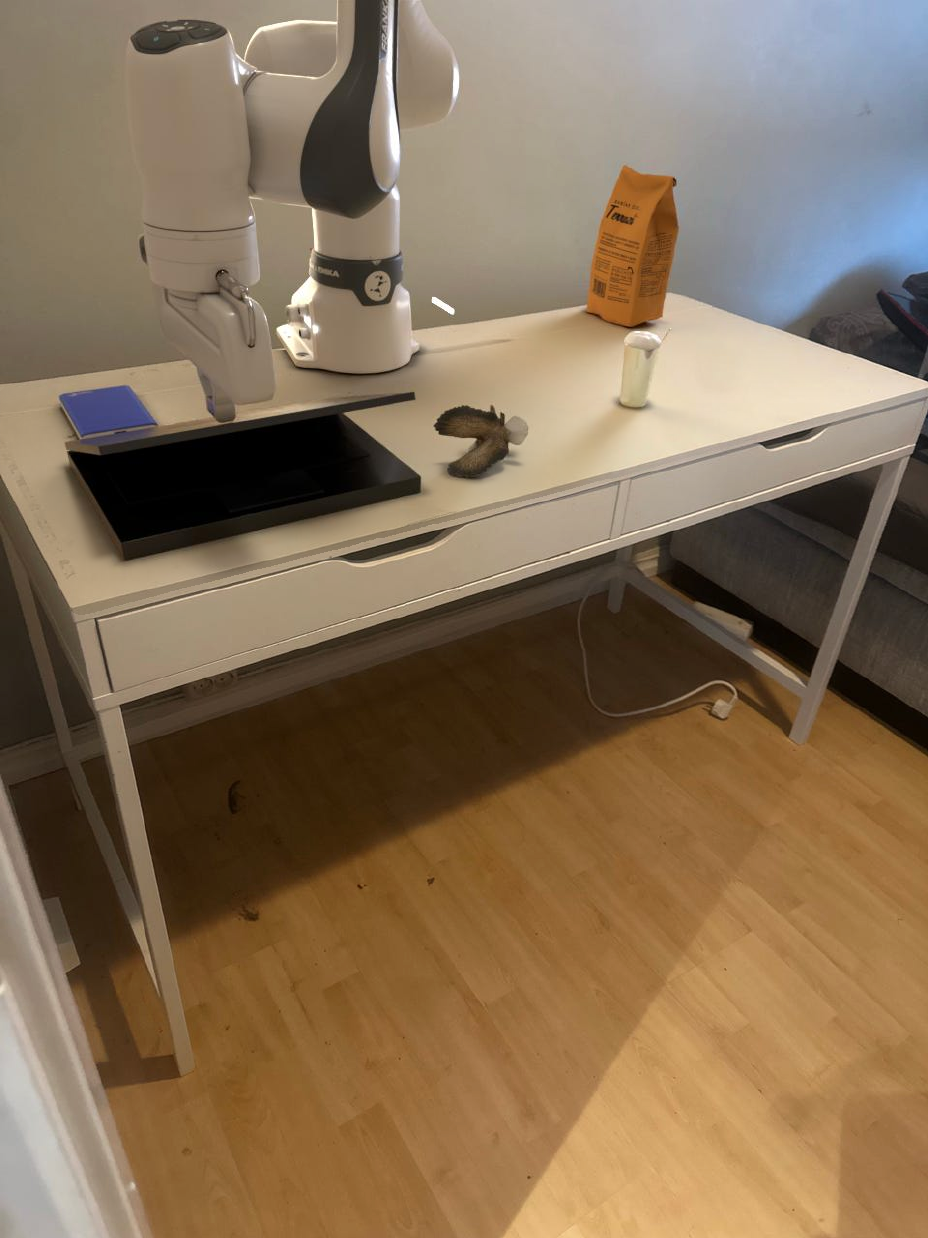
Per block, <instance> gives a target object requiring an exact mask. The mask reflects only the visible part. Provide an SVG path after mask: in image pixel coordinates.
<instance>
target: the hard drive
mask: <svg viewBox="0 0 928 1238" xmlns="http://www.w3.org/2000/svg"><path fill="white" fill-rule="evenodd" d="M58 400H59V404H60V406H61V408H62V410H63V412H64V414H65V416H66V417H67V419H68V421H69V423H70V425H71V426H72V428H73V430H74V432H76V435H77V436H78V438H79V440H81V439H87V438H92V437H98V436H104V435H110V434H116V433H122V432H128V431H134V430H140V429H146V428H152V427H158V426H159V425H158V422H157V421H156V420H155V418H154V416H152V414H151V413H150V412H149V411H148V409H147V408H146V406H145V405H144V404H143V402H142V401H141V400H140V398H139V397H138V396H137V394H136V393H135V391H134V390H133V389H132V388H131V386H130V385H128V384H127V385H126V384H123V385H116V386H109V387H101V388H95V389H87V390H86V389H85V390H79V391H72V392H66V393H61V394H59V395H58Z"/></svg>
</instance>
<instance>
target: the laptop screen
mask: <svg viewBox="0 0 928 1238" xmlns="http://www.w3.org/2000/svg"><path fill="white" fill-rule="evenodd" d="M411 401H416V393H415V391H406V392H405V391H404V392H390V393H389V392H387V393H375V394H362V395H347V396H334V397H333V396H332V397H326V398H320V399H315V400H308V401H302V402H296V403H291V404H285V405H284V404H283V405H279V406H271V407H267V408H260V409H254V410H248V411H243V412H237V413H236V412H235V413H236V417H235V419H234V420H233V421H231V422H225V423H219V422H218V421H217V420H216V419H215V418H214V417H213V416H212V417H207V418H200V419H195V420H188V421H183V422H177V423H170V424H165V425H158V427H152V428H146V429H140V430H134V431H128V432H122V433H116V434H110V435H104V436H98V437H92V438H87V439H81V440H80V439H75V440H68V441H64V446H65V448H66V451H77V452H83V453H89V454H95V455H107V454H112V453H118V452H125V451H131V450H137V449H142V448H148V447H153V446H159V445H165V444H170V443H176V442H182V441H187V440H193V439H199V438H204V437H210V436H216V435H221V434H227V433H233V432H238V431H244V430H249V429H255V428H261V427H266V426H272V425H278V424H283V423H289V422H295V421H300V420H306V419H312V418H317V417H323V416H329V415H334V414H340V413H343V414H345V413H350V412H356V411H362V410H368V409H373V408H378V407H385V406H391V405H394V404H395V405H396V404H400V403H406V402H411Z"/></svg>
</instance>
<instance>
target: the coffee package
mask: <svg viewBox="0 0 928 1238" xmlns="http://www.w3.org/2000/svg"><path fill="white" fill-rule="evenodd" d="M677 182H678V181H677V178H676V177H675V176H674V175H665V174H663V175H661V174H652V173H651V174H649V173H646V174H645V173H644V174H643V173H640V172H638V171H637V170H636V169H634V168H632V167H630V166H628V165H627V164H626V165H623V166H622V167H621V170H620V172H619V174H618V178H617V179H616V180H615V184H614V186H613V188H612V191H611V194H610V197H609V198H608V202H607V204H606V206H605V210H604V212H603V216H602V218H601V221H600V224H599V227H598V228H599V229H598V233H597V237H596V243H595V247H594V252H593V256H592V260H591V265H590V275H589V286H588V287H589V288H588V294H587V295H588V296H587V303H586V309H585V311H586V313H591V314H594V315H599V316H600V317H601V318H602V319H603V320H604V321H605V322H608V323H611V324H615V325H616V324H617V325H619V326H624V327H629V328H631V327H635V326H637V325H640V324H642V323H645V322H651V321H657V320H659V319H661V318H663V316H664V309H665V303H666V302H665V301H666V298H667V292H668V291H667V290H668V285H669V281H670V278H671V269H672V267H673V261H674V256H675V248H676V244H677V239H678V235H679V231H680V230H679V229H680V226H679V219H678V214H677V213H678V212H677V207H676V203H675V198H674V188H675V187H676V186H677V185H678V183H677Z"/></svg>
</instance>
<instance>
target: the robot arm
mask: <svg viewBox="0 0 928 1238" xmlns="http://www.w3.org/2000/svg"><path fill="white" fill-rule="evenodd" d="M243 58H244V59H242V58H241V56H239V55H238V54H237V51H236V47H235V43H234V41H233V38H232V35H231V32H230V31H229V29H228V28H226V27H224V25H221V24H218V23H216V22H214V21H210V20H209V21H208V20H204V19H203V20H201V19H177V20H170V21H169V20H168V21H167V20H163V21H157V22H154V23H150V24H147V25H144V26H142V27H140V28H139V29H137V30H136V32H134V33H133V34H132V35H130V37H129V38H128V42H127V46H126V52H125V62H124V63H125V64H124V65H125V66H124V75H125V76H124V88H125V104H126V115H127V124H128V132H129V133H128V134H129V140H130V147H131V154H132V159H133V163H134V165H135V168H136V170H137V172H138V175H139V177H140V182H141V186H142V193H143V194H142V206H141V222H142V229H143V233H140V234H139V235H138V237H137V245H138V246H137V247H138V251H139V257H140V259H141V261H142V262H143V263H144V264H145V265H146V266H147V268H148V275H149V282H150V285H151V291H152V295H153V300H154V305H155V308H156V313H157V318H158V321H159V324H160V327H161V330H162V332H163V334H164V337H165V338H166V339H167V340H168V341H169V342H170V343H171V344H172V345H173V346H174V347H175V348H176V349H177V350H178V351H179V352H180V353H181V354H182V355H183V356H184V357H185V358H186V359H187V360H188V361H190V363H192V365H194V367H196V374H197V376H198V379H199V383H200V385H201V388H202V392H203V395H204V398H205V399H204V400H205V405H206V410H207V413H209V414H210V415H211V416H212V417H214V418H215V419H216V420H217V421H218V422H219V423H225V422H231V421H233V420H234V419H235V417H236V406H246V405H251V404H259V403H263V402H268V401H271V400H273V398H274V396H275V393H276V391H277V379H276V370H275V362H274V355H273V348H272V347H273V346H272V340H271V334H270V328H269V324H268V320H267V317H266V313H265V311H264V309H263V307H262V306H261V305H260V304H259V303H258V302H257V301H256V300H254V299H253V298H252V297H250V296H249V292H250V291H249V289H248V288H250V287H252V286H254V285H256V284H257V283H258V282H259V281H260V279H261V273H260V259H259V247H258V235H257V224H256V223H257V222H256V214H255V210H254V208H253V204H252V202H251V199H254V200H255V199H257V200H261V201H264V202H268V203H276V204H283V205H289V206H291V205H292V206H297V207H305V208H310V209H311V213H312V223H313V238H314V239H313V240H314V241H313V242H314V247H310V248H309V251H311V254H310V255H309V257H310V258H309V270H308V275H309V278H308V279H307V280H306V281H305V282H304V283H303V284H302V285H301V286H300V287H299V288H298V290H297V291H295V293H294V294H293V295H292V297H291V304H288V305H286V306H285V317H286V320H287V323H286V324H282V325H281V326H278V327H277V328H276V336H277V338H278V340H279V342H280V343H281V344H282V346H283V347H284V350H285V351H286V352H287V354H288V356H289V357H290V359H291V360H292V362H293V363H294V366H296V367H298V368H306V369H321V370H326V371H331V372H335V373H343V374H344V373H345V374H377V373H384V372H390V371H393V370H396V369H399V368H402V367H404V366H405V365H407V364H408V363H409V362H410V361H411V357H412V355H413V354H415V353H417V352H418V351H419V350H420V343H419V341H418V340H415V339H413V331H412V330H413V329H412V314H411V311H412V310H411V298H410V297H411V296H410V293H409V291H408V290H407V289H406V288H405V287H403V285H402V282H403V280H404V268H405V266H404V265H405V264H404V261H403V260H404V259H403V252H402V251H401V249H400V242H401V241H400V239H401V238H400V237H401V236H400V235H401V234H400V232H401V231H400V230H401V225H400V224H401V195H400V192H399V189H398V186H397V181H398V178H399V175H400V168H401V157H402V155H401V154H402V149H401V147H402V145H401V144H402V142H401V132H409V131H410V132H411V131H414V130H419V129H425V128H429V127H432V126H435V125H439V124H442V123H443V122H444V121H445V120H446V119H447V118H448V117H449V115H450V114H451V112H452V110H453V108H454V106H455V104H456V101H457V100H458V99H457V98H458V94H459V90H460V69H459V65H458V61H457V57H456V55H455V51H454V50H453V48H452V47H451V44H450V43H449V42H448V40H447V39H446V37H445V36H444V35H443V34H441V32H440V31H439V30H438V29H437V27H436V26H435V24H434V23H433V22H432V20H431V19H430V17H429V14H428V13H427V11H426V9H425V7H424V4H423V2H422V0H337V1H336V21H322V20H302V19H296V20H291V21H285V22H278V23H274V24H270V25H265V26H262V27H261V26H260V27H259V28H258V29H257V30H256V31H255V32H254V34H253V35H252V37H251V38H250V40H249V43H248V45H247V47H246V50H245V53H244V57H243ZM431 303H433V304H435V305H437V306H438V307H440V308H442V309H443V310H444V311H446V312H448V313H449V314H451V315H454V314H455V309H454V308H452V307H451V306H449V304H446V303H444V302H443V301H442V300H440V299H438V298H437V297H435V296H434V297H433V296H432V299H431Z"/></svg>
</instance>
